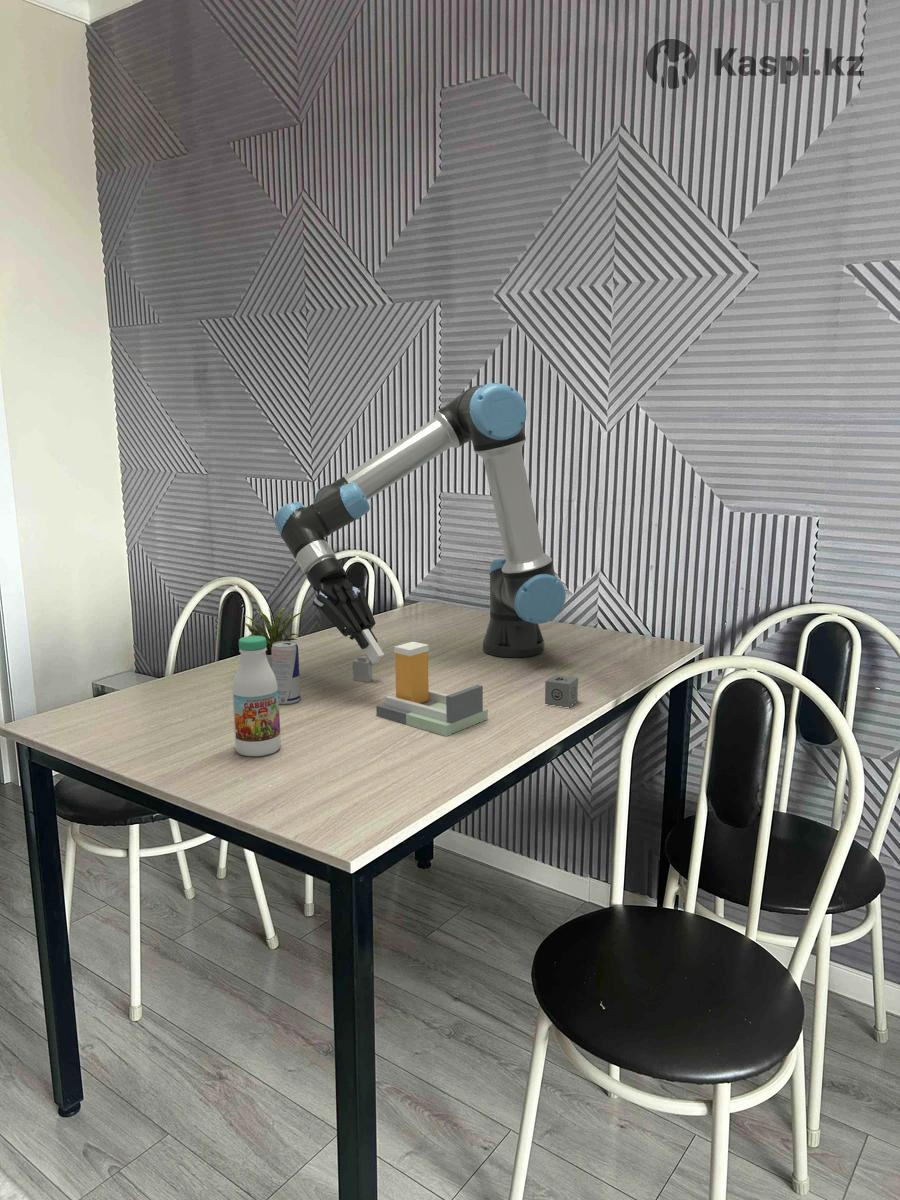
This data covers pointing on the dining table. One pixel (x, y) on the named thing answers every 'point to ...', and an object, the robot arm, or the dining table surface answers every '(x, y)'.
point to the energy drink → (286, 671)
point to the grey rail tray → (438, 711)
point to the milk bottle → (255, 701)
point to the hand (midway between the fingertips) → (378, 659)
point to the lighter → (363, 669)
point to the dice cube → (561, 691)
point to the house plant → (272, 630)
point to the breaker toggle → (412, 672)
